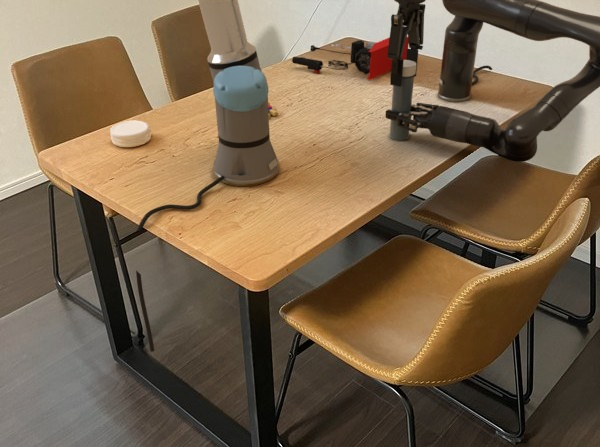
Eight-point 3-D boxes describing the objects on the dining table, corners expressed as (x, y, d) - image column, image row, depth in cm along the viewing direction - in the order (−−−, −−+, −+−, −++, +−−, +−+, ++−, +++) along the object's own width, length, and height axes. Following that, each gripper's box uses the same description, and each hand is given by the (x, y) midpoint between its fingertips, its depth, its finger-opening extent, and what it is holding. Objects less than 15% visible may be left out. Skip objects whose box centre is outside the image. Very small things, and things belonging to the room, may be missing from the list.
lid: (415, 69, 154) (416, 60, 153) (415, 77, 149) (416, 67, 148) (393, 68, 155) (393, 59, 153) (391, 76, 150) (392, 66, 149)
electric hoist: (290, 37, 203) (370, 51, 188) (334, 23, 222) (410, 35, 207) (290, 67, 208) (368, 84, 193) (333, 51, 227) (407, 65, 212)
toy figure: (281, 107, 173) (253, 94, 180) (262, 114, 169) (235, 100, 176) (281, 115, 175) (253, 102, 182) (262, 122, 171) (235, 108, 178)
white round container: (123, 151, 155) (121, 138, 153) (105, 139, 162) (102, 126, 160) (158, 140, 161) (156, 127, 159) (139, 128, 167) (137, 116, 165)
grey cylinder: (396, 142, 158) (401, 71, 148) (385, 134, 162) (390, 65, 152) (412, 138, 160) (418, 68, 150) (402, 131, 164) (407, 62, 154)
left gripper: (414, -27, 150) (407, 66, 162) (375, -11, 135) (370, 90, 148) (444, -24, 146) (434, 71, 158) (406, -7, 132) (398, 96, 144)
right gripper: (439, 149, 147) (376, 133, 156) (463, 129, 157) (403, 114, 166) (442, 120, 143) (378, 104, 152) (467, 101, 153) (405, 87, 162)
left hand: (403, 80), depth 153 cm, fingers open, 8 cm apart
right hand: (391, 110), depth 159 cm, fingers closed on grey cylinder, 5 cm apart
